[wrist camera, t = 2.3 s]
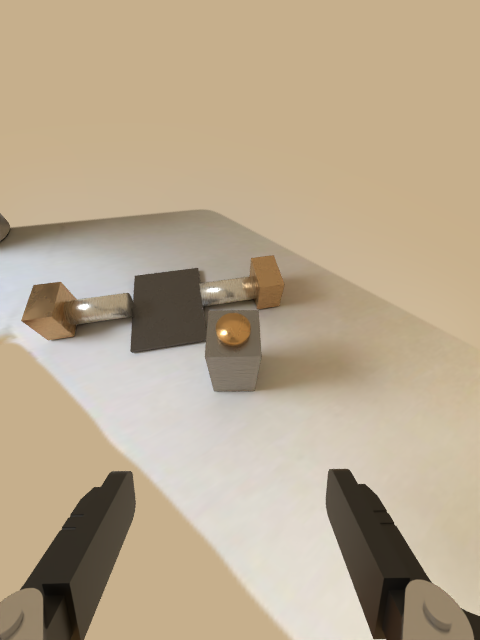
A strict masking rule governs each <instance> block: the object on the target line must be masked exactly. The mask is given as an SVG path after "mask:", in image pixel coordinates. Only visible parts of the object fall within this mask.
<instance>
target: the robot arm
mask: <svg viewBox="0 0 480 640" xmlns="http://www.w3.org/2000/svg"><path fill="white" fill-rule="evenodd" d="M9 230H10V225H9V223H8V222H7V220H6V219H5V218H4V217H3V216H2V215H1V214H0V241H1V240H2V239H3V238H4V237H5V236H6V235H7V234H8V232H9ZM135 502H136V501H135V492H134V483H133V474H132V472H131V471H113V472H111V473H109V475H108V476H107V478H106V480H105V481H104V483H103V485H102V486H101V487H94V488H93V489H92V490H91V491H90V492H88V493H87V494H86V495H85V496H84V497H83V498H82V499H81V500H80V501H79V503H78V504H77V506H76V507H75V509H74V510H73V512H72V513H71V516H70V518H68V519H67V521H66V522H65V524H64V525H63V527H62V530H61V531H59V533H58V534H57V536H56V537H55V539H54V541H53V542H52V543H51V545H50V546H49V548H48V550H47V551H46V552H45V554H44V555H43V557H42V558H41V560H40V561H39V563H38V564H37V566H36V567H35V569H34V570H33V572H32V574H31V575H30V576H29V578H28V579H27V581H26V582H25V584H24V585H23V586H22V588H21V589H20V591H17V592H15V593H13V594H11V595H10V596H8V597H7V598H5V599H4V600H3V601H1V602H0V640H84V638H85V635H86V633H87V631H88V628H89V626H90V623H91V621H92V618H93V616H94V614H95V611H96V608H97V606H98V603H99V601H100V599H101V596H102V594H103V591H104V589H105V586H106V584H107V582H108V579H109V577H110V574H111V572H112V569H113V567H114V564H115V562H116V559H117V557H118V555H119V552H120V550H121V547H122V545H123V542H124V540H125V537H126V535H127V532H128V530H129V527H130V525H131V523H132V520H133V517H134V512H135V504H136V503H135ZM326 508H327V513H328V517H329V520H330V523H331V526H332V528H333V531H334V534H335V536H336V539H337V542H338V544H339V547H340V550H341V553H342V555H343V558H344V561H345V563H346V566H347V569H348V571H349V574H350V577H351V580H352V582H353V585H354V588H355V590H356V593H357V596H358V598H359V601H360V604H361V607H362V609H363V612H364V615H365V617H366V620H367V623H368V625H369V628H370V631H371V634H372V636H373V639H386V640H480V616H478V615H475V614H472V613H470V612H467V611H465V610H464V609H462V608H460V607H459V605H458V604H457V603H456V602H455V601H454V600H453V598H451V597H450V596H449V595H448V594H447V593H446V592H445V591H444V590H442V589H441V588H439V587H438V586H436V585H434V584H433V583H432V582H431V581H430V579H429V578H428V576H427V575H426V573H425V572H424V570H423V568H422V567H421V565H420V564H419V562H418V560H417V559H416V557H415V556H414V554H413V552H412V551H411V549H410V547H409V546H408V544H407V543H406V541H405V539H404V538H403V536H402V535H401V533H400V531H399V530H398V528H397V526H395V525H394V522H393V520H392V518H391V517H390V515H389V514H388V513H387V510H386V509H385V507H384V505H383V504H382V502H381V501H380V499H379V497H378V496H377V495H376V494H375V493H374V492H373V491H372V490H371V489H370V488H369V487H368V486H367V485H365V484H358V483H357V482H356V480H355V478H354V476H353V475H352V473H351V471H350V470H349V469H329V471H328V480H327V491H326Z"/></svg>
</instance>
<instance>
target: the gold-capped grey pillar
mask: <svg viewBox="0 0 480 640" xmlns="http://www.w3.org/2000/svg"><path fill="white" fill-rule="evenodd" d="M205 359H206V363H207V366H208V370H209V374H210V378H211V382H212V385H213V389H214V391H255V386H256V381H257V376H258V371H259V366H260V361H261V341H260V326H259V310H232V311H208V322H207V336H206V350H205Z"/></svg>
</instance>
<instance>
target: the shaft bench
mask: <svg viewBox="0 0 480 640" xmlns="http://www.w3.org/2000/svg"><path fill="white" fill-rule="evenodd" d="M283 288H284V282H283V279H282V276H281V274H280V271H279V268H278V266H277V263H276V260H275V258H274V255H273V256H265V257H257V258H251V266H250V277H243V278H236V279H228V280H221V281H213V282H206V283H200V278H199V271H198V268H194V269H186V270H178V271H170V272H162V273H154V274H146V275H138V276H135V282H134V300H133V301H132V298H131V296H130V294H129V293H123V294H115V295H108V296H100V297H93V298H85V299H78V300H77V299H76V298H75V297H74V296H73V295H72V294H71V293H70V292H69V290H68V289H67V288H66V287H65V286H64V285H63V284H62V283H61V282H56V283H47V284H39V285H33V288H32V291H31V294H30V297H29V300H28V303H27V305H26V308H25V311H24V314H23V317H22V320H21V321H22V322H24V323H25V324H26V325H28V326H29V327H31V328H32V329H33V330H35V331H36V332H37V333H39V334H40V335H42V336H43V337H44V338H46V339H47V340H53V339H60V338H67V337H73V336H74V335H75V330H76V325H77V324H83V323H90V322H97V321H104V320H111V319H118V318H125V317H132V316H133V317H132V334H131V352H132V353H133V352H139V351H145V350H152V349H158V348H164V347H171V346H177V345H183V344H189V343H196V342H202V341H206V336H207V331H206V324H205V316H204V308H203V306H209V305H216V304H223V303H230V302H237V301H244V300H251V299H255V303H256V307H257V309H262V308H269V307H276V306H279V304H280V300H281V296H282V292H283Z"/></svg>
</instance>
